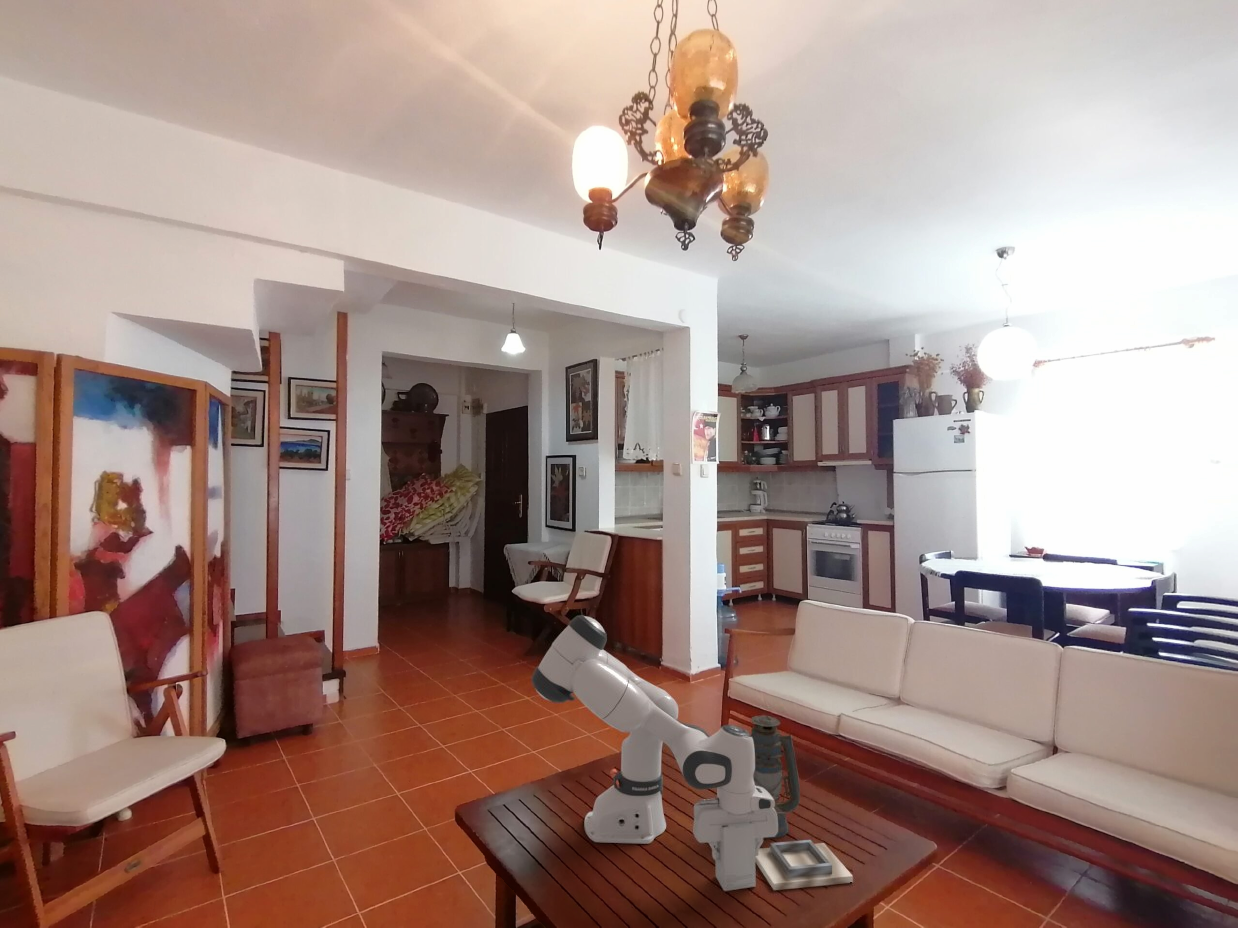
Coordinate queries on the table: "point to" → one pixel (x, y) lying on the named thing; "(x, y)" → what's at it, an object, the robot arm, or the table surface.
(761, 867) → the board
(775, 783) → the lantern
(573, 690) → the robot arm
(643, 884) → the table surface
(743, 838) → the skincare box
